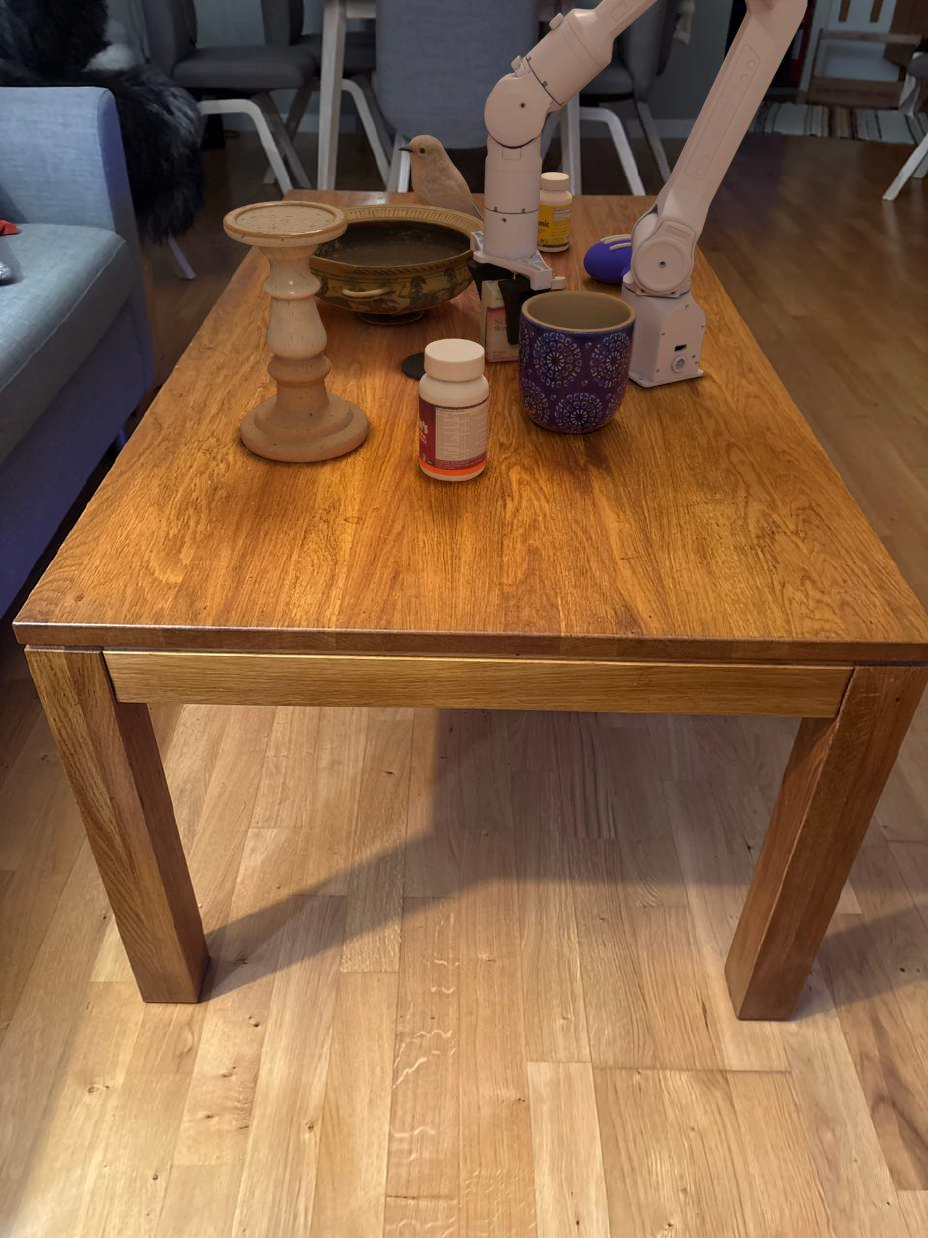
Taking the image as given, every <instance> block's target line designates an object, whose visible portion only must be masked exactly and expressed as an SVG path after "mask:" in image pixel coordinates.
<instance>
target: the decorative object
mask: <svg viewBox="0 0 928 1238" xmlns="http://www.w3.org/2000/svg"><path fill="white" fill-rule="evenodd" d="M631 257H632V248H631V233H630V234H629V233H626V234H615V235H610V236H606V237H603V238H601V239H600V240H599V241H598V242H597V243H595V244H593V245H591V247H590V248H589V249H588V250H587V251H586V253H584V256H583V260H582V263H583V264H582V265H583V268H584V271H585V272H586V274H587V275H589V277H591V278H592V279H595V280H596V281H599V282H602V283H607V284H613V285H614V284H615V285H616V284H620V285H622V284H623V277H624V275H625V274H626V273H628V272H629V271H630V270H631V266H630V263H631Z"/></svg>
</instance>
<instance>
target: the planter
mask: <svg viewBox="0 0 928 1238" xmlns="http://www.w3.org/2000/svg"><path fill="white" fill-rule="evenodd" d="M635 329H636V311H635V310H634V308H633V307H632V306H631V305H630V304H628V303H627V302H625V301H623V300H621V298H619V297H616V296H613V295H610V294H605V293H601V292H596V291H590V290H589V291H588V290H574V289H573V290H554V291H549V292H547V293H543V294H539V295H536V296H534V297H531V298H530V299H528V300H527V301H525V302H524V304H523V305H522V307H521V314H520V326H519V343H518V360H517V387H518V390H517V391H518V396H519V400H520V403H521V405H522V408H523V409H524V411H525V413H526V415H527V416H528V417H529V418H530V419H531V420H532V421H533V422H535V424H537V425H538V426H539V427H541V428H543V429H546V430H549V431H552V432H555V433H561V434H569V435H570V434H571V435H572V434H586V433H591V432H594V431H597V430H599V429H601V428H602V427H604V426H606V425H608V423H609V422H611V421H612V420H613V418H614V417H615V416H616V415H617V414H618V412H619V410H620V409H621V407H622V405H623V402H624V400H625V396H626V391H627V387H628V383H629V379H630V378H629V373H630V366H631V359H632V353H633V345H634V337H635Z"/></svg>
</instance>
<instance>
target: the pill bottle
mask: <svg viewBox="0 0 928 1238" xmlns="http://www.w3.org/2000/svg"><path fill="white" fill-rule="evenodd" d="M424 352H425V362H424V369H425V371H426V374H424V376H423V377H422V378H421V380H419V382H418V461H419V462H418V463H419V467H420V469H421V470H422V472H423V473H424V474H425V475H427V476H428V477H431V478H433V479H434V480H438V481H443V482H465V481H469V480H472V479H474V478H476V477H477V476H478V475H480V474H481V473H482V472H483V471H484V470H485V468H486V463H487V446H488V445H487V444H488V443H487V442H488V419H489V398H490V397H489V396H490V385H489V382H488V379H487V378H486V377H485V375H484V373H485V366H486V365H485V360H486V357H485V351H484V348H483V347H482V346H481V345H480V343H477V342H475V341H472V340H469V339H464V338H463V339H461V338H442V339H438V340H434V341H432V342H430V343H429V344H427V345H426V347H425V348H424Z"/></svg>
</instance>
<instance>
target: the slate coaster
mask: <svg viewBox="0 0 928 1238" xmlns="http://www.w3.org/2000/svg"><path fill="white" fill-rule="evenodd" d="M424 362H425V351H420V352H416V353H413V354H410V355H407V356H406V357H404V359H403V360H402V362H401V370H402V372H403V373H404V374H405V375H407V376H408V377H410V378H412V379H416V380H419V381H420V380H421V378H422V377H423V376H424V374H426V371H425V369H424Z"/></svg>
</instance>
